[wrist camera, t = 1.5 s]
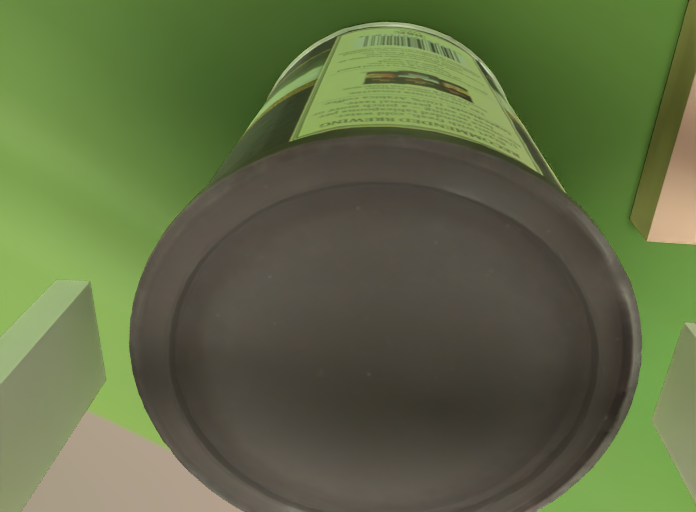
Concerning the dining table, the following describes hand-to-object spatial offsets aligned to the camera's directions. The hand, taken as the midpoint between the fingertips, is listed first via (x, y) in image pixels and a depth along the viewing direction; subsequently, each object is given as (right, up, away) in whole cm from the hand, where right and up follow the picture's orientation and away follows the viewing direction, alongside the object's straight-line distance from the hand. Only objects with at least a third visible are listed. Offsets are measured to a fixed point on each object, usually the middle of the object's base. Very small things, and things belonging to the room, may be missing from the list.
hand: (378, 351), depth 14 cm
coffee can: (+1, +6, +11) cm, 13 cm away
